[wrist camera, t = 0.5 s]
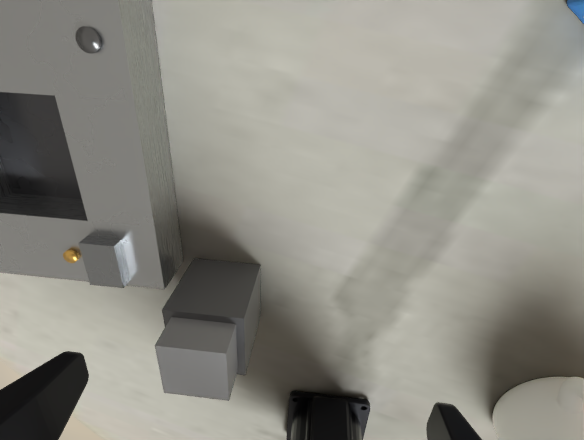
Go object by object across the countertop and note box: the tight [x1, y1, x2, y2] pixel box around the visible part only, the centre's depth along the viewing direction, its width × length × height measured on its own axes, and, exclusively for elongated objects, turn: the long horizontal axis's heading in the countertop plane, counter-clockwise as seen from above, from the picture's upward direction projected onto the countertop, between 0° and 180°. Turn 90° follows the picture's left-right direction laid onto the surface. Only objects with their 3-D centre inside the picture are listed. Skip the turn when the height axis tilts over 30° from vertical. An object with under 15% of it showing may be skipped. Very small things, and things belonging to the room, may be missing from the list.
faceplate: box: [0, 0, 183, 289], centre depth 18 cm, size 15×14×4 cm
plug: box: [155, 258, 261, 401], centre depth 21 cm, size 4×4×7 cm
